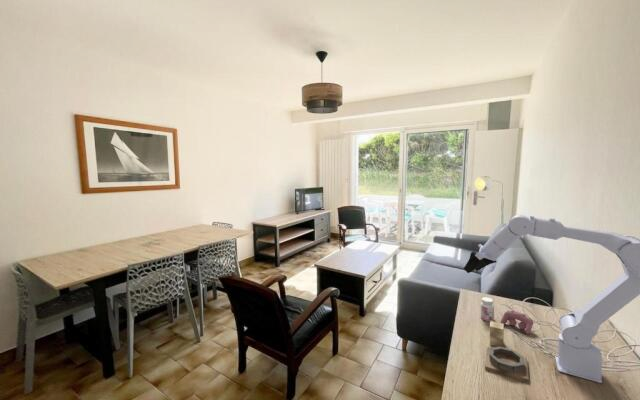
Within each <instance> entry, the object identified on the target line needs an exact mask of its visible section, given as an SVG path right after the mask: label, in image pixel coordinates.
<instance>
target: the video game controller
mask: <svg viewBox="0 0 640 400" xmlns="http://www.w3.org/2000/svg"><path fill="white" fill-rule="evenodd" d="M502 315H503V316H502V317H501V320H500V323H502V324H504V326H505V325H506V324H507V323H509V325H510V326H513V327H514V326H515V327H516V326H517V325H518V328H520V329H521V330H524V331H525V334H526V335H527V336H528V335H530V333H531V332H532V329H533V325H534V320H533V319H532V318H531V317H529V316H527V315H526V314H524V313H522V312H519V311H515V310H506V311H505V312H504V313H503V314H502ZM516 320H517V321H519V323H518V324H517V321H516Z"/></svg>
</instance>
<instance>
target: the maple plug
mask: <svg viewBox="0 0 640 400" xmlns="http://www.w3.org/2000/svg"><path fill="white" fill-rule="evenodd" d="M504 326H505V325H504V324H502V323H501V322H497V321H494V320H493V321H489V345H490V346H493V347H499V346H500V347H504V344H505V342H504V341H505V339H504V333H505V332H504Z"/></svg>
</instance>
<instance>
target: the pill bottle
mask: <svg viewBox="0 0 640 400" xmlns="http://www.w3.org/2000/svg"><path fill="white" fill-rule="evenodd" d="M480 317H481V319H482V320H483V321H486V322H490V321H493V322H494V320H495V305H494V300H493V299H492V298H490V297H486V296H484V297H481V302H480Z"/></svg>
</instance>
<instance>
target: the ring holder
mask: <svg viewBox="0 0 640 400" xmlns="http://www.w3.org/2000/svg"><path fill="white" fill-rule="evenodd" d="M485 356H486V357H485V362H484V364H485V365H484V370H487V371H491V372H494V373H495V374H496V373H497V374H500V375H502V376H503V375H504V376H506V377H509V378H513V379H516V380H519V381H523V382H524V383H530V378H529V366H528V363H529V362H528V357H527V356H523V355H521V354H520V353H519V352H517V351H516V350H513V349H511V348H507V347H504V346H503V347H500V346H499V347H497V346H493V347H489V346H488V347H487V349H486V355H485Z"/></svg>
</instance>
